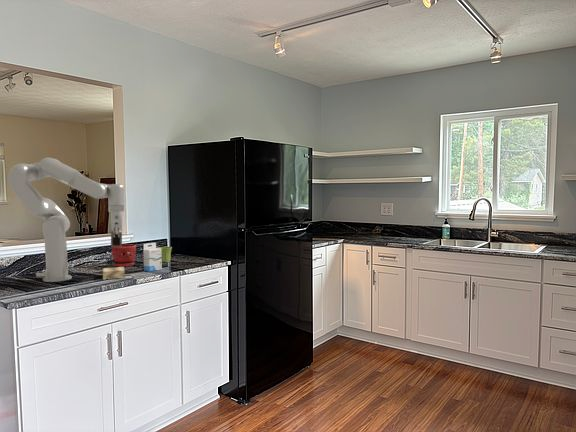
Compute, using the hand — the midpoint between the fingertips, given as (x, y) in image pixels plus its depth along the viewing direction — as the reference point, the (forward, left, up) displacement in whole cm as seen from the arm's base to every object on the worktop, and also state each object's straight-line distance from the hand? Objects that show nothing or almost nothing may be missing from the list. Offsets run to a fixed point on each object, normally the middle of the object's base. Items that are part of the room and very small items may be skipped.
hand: (116, 244), depth 222 cm
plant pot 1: (+4, +31, -17) cm, 36 cm away
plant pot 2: (+27, +35, -17) cm, 48 cm away
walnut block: (0, 0, -1) cm, 1 cm away
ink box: (+18, +10, -17) cm, 27 cm away
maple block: (-2, -1, -17) cm, 17 cm away
